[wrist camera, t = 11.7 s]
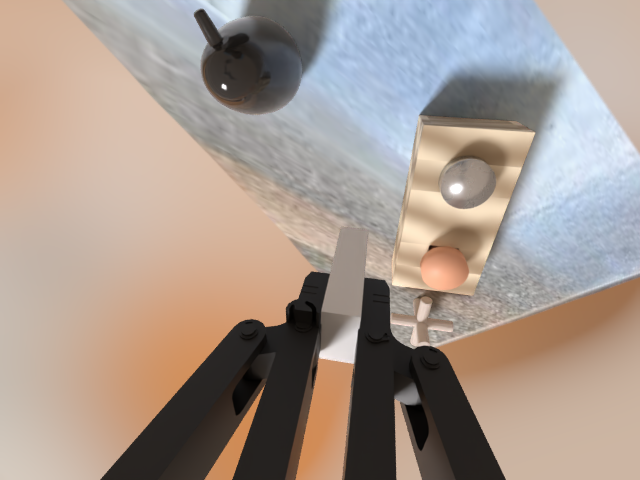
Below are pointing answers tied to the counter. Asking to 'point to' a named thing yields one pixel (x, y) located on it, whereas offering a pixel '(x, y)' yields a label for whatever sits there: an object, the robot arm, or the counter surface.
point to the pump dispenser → (250, 63)
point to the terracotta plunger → (444, 268)
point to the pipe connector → (421, 322)
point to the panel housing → (438, 216)
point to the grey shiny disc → (466, 182)
